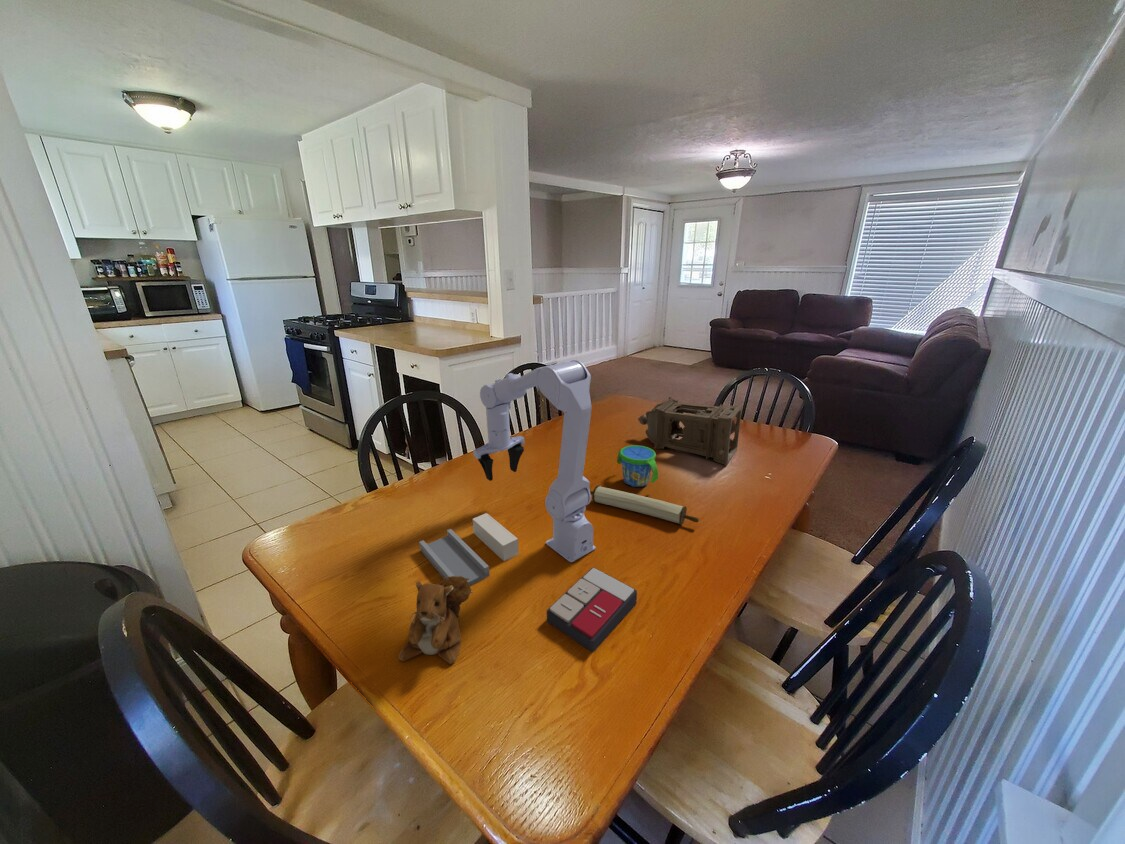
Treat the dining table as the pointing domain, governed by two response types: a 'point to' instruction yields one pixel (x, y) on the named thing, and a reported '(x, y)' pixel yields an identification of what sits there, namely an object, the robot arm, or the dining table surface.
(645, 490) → the dining table surface
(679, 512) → the rolling pin
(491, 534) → the white rectangular block
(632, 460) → the snack cup
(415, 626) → the stuffed squirrel
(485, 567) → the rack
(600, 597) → the calculator
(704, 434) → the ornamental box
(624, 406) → the dining table surface
